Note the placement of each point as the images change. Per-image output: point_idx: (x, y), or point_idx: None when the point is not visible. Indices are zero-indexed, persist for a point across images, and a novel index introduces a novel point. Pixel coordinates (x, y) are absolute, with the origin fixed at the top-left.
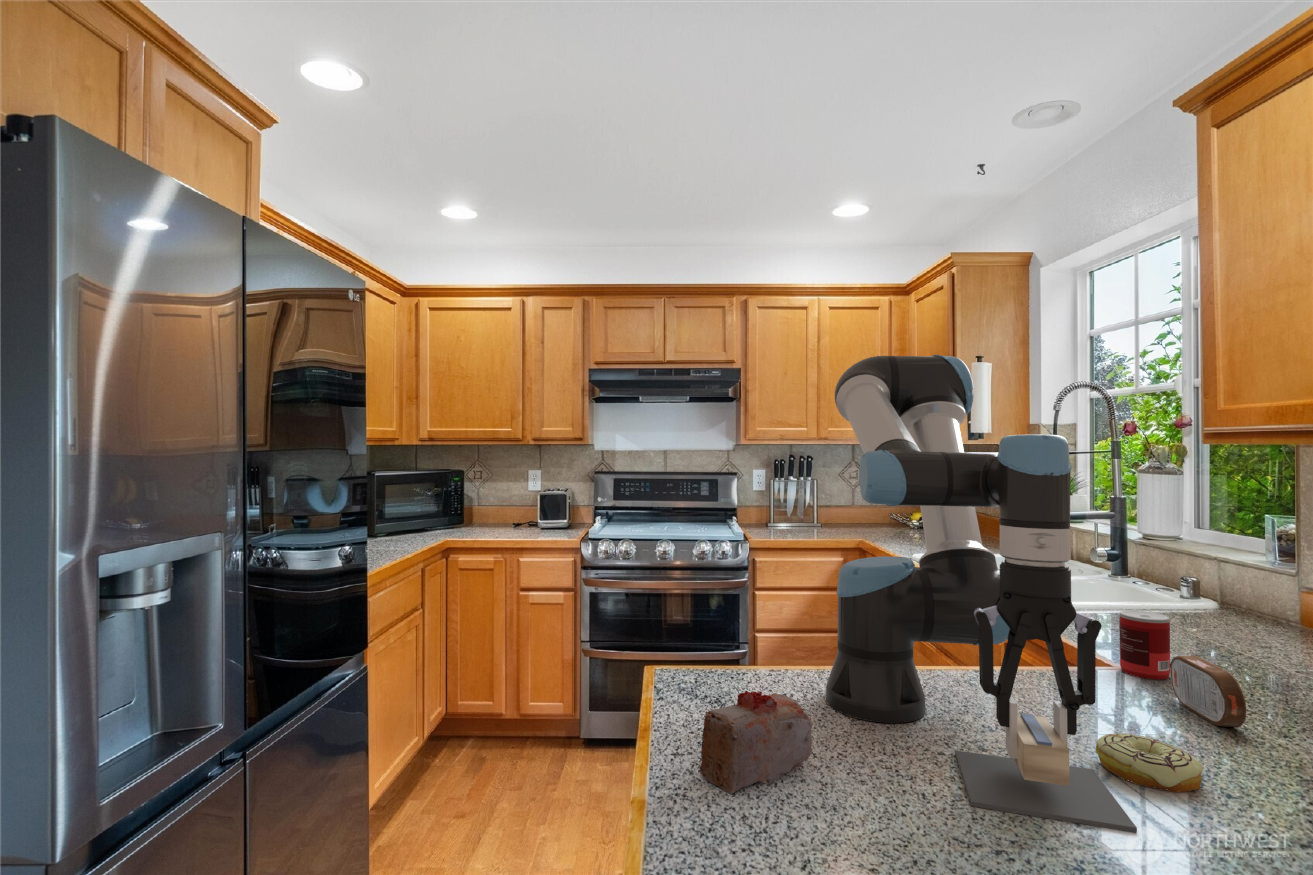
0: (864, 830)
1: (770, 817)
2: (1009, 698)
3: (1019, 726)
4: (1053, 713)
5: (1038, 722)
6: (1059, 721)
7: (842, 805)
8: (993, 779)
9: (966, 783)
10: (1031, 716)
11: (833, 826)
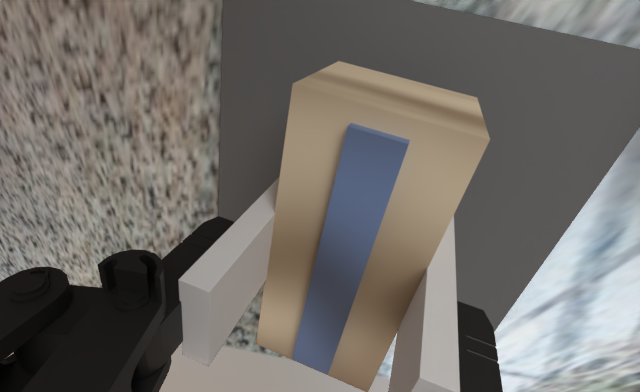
0: (93, 273)
1: (2, 240)
2: (168, 364)
3: (289, 242)
4: (423, 316)
5: (395, 207)
6: (391, 377)
7: (57, 220)
8: (282, 155)
9: (220, 174)
10: (382, 172)
11: (62, 262)
